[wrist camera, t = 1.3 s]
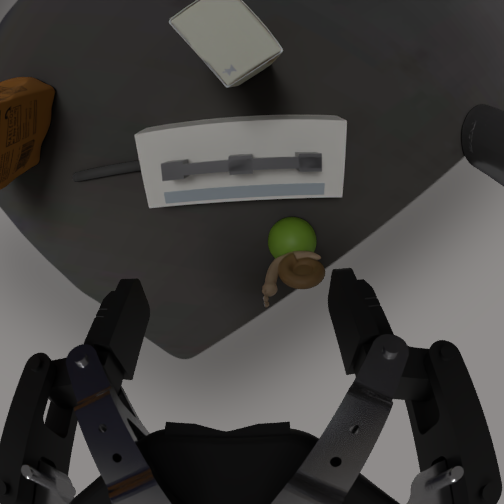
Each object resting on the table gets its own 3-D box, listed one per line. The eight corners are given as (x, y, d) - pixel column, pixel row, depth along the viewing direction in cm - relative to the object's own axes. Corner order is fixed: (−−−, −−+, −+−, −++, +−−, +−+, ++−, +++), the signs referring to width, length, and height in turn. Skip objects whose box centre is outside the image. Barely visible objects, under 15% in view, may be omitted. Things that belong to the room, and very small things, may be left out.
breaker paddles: (315, 151, 26) (321, 153, 23) (316, 168, 26) (321, 171, 24) (168, 161, 26) (160, 163, 24) (169, 177, 27) (162, 181, 24)
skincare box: (272, 64, 24) (289, 54, 14) (236, 87, 25) (229, 93, 15) (234, 17, 21) (225, -20, 11) (198, 41, 22) (165, 20, 12)
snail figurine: (255, 212, 33) (258, 280, 23) (310, 206, 33) (336, 270, 23) (261, 251, 36) (266, 324, 27) (312, 245, 36) (333, 315, 26)
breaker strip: (336, 115, 27) (347, 120, 24) (333, 184, 31) (342, 197, 28) (68, 145, 27) (51, 155, 24) (83, 204, 32) (70, 218, 29)
